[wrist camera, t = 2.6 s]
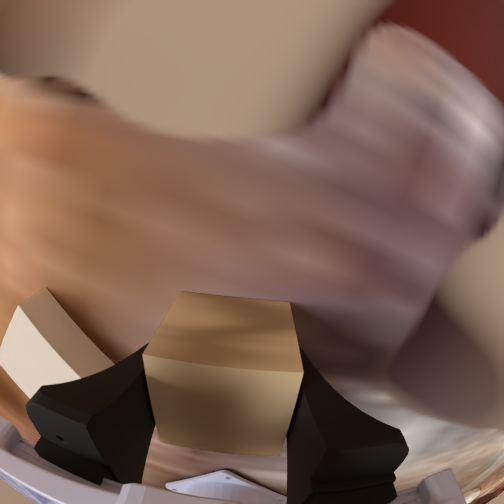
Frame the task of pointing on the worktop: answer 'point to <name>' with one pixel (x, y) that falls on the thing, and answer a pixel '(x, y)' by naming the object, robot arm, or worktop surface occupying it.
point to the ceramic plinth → (47, 346)
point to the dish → (471, 495)
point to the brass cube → (224, 374)
